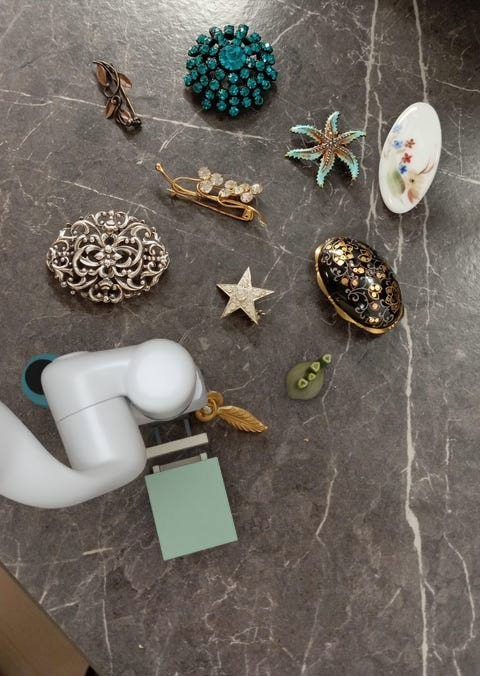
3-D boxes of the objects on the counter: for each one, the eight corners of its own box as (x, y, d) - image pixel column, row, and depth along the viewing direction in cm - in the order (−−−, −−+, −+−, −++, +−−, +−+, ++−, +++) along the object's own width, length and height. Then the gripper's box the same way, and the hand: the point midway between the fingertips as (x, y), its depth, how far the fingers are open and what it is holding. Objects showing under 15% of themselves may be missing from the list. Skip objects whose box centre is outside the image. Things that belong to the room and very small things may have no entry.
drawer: (138, 422, 121) (136, 418, 115) (197, 406, 122) (198, 402, 116) (161, 521, 118) (160, 524, 112) (222, 505, 119) (224, 506, 113)
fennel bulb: (316, 359, 126) (330, 347, 114) (328, 393, 125) (343, 384, 113) (277, 372, 125) (287, 361, 114) (288, 406, 124) (299, 398, 112)
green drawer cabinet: (147, 476, 121) (144, 476, 112) (215, 458, 122) (217, 456, 114) (165, 555, 118) (163, 560, 110) (234, 536, 119) (238, 540, 111)
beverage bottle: (97, 380, 123) (81, 362, 104) (72, 424, 122) (51, 414, 102) (55, 358, 124) (31, 335, 104) (30, 401, 122) (1, 386, 103)
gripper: (103, 436, 99) (116, 443, 117) (234, 401, 101) (227, 413, 119) (88, 370, 101) (103, 387, 119) (217, 337, 103) (212, 358, 120)
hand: (165, 400), depth 119 cm, fingers closed
